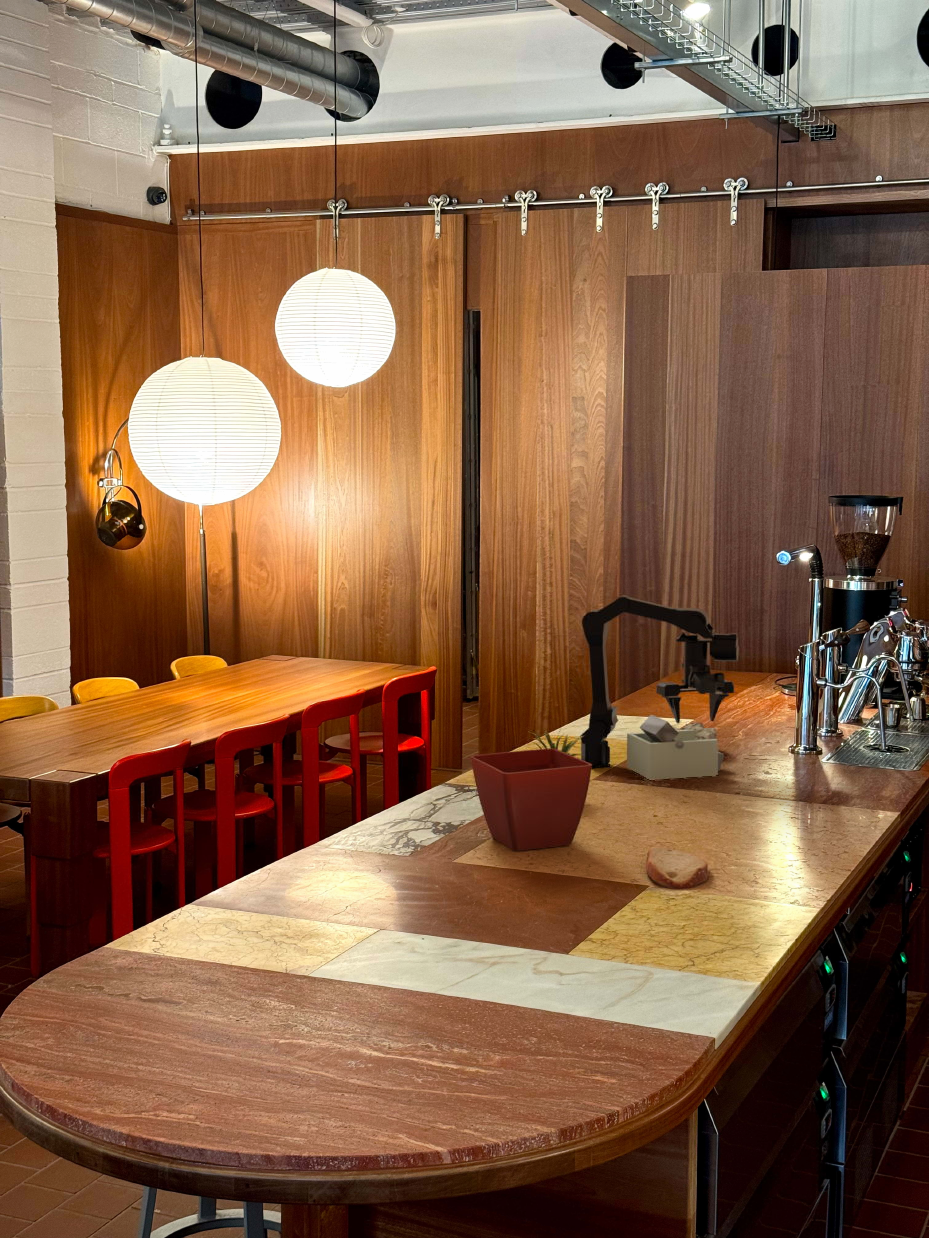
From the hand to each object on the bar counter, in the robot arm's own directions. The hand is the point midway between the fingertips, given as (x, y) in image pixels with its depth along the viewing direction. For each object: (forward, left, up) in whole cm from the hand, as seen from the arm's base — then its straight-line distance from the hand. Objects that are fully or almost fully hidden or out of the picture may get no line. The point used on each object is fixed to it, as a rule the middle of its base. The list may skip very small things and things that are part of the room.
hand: (695, 722), depth 336 cm
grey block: (0, 0, -8) cm, 8 cm away
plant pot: (-59, -51, -13) cm, 79 cm away
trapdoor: (-7, 0, -7) cm, 10 cm away
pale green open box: (-6, 0, -12) cm, 14 cm away
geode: (+8, +20, -13) cm, 25 cm away
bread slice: (-41, -78, -13) cm, 89 cm away
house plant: (-43, -17, -12) cm, 48 cm away
